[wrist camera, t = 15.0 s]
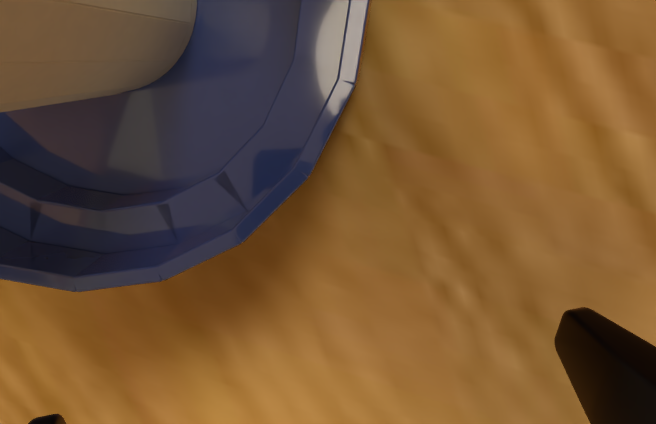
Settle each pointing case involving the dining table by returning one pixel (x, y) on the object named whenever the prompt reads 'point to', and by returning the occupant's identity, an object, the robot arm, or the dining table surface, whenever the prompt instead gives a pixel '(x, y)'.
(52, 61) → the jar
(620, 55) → the dining table surface
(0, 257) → the bowl
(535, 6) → the dining table surface
